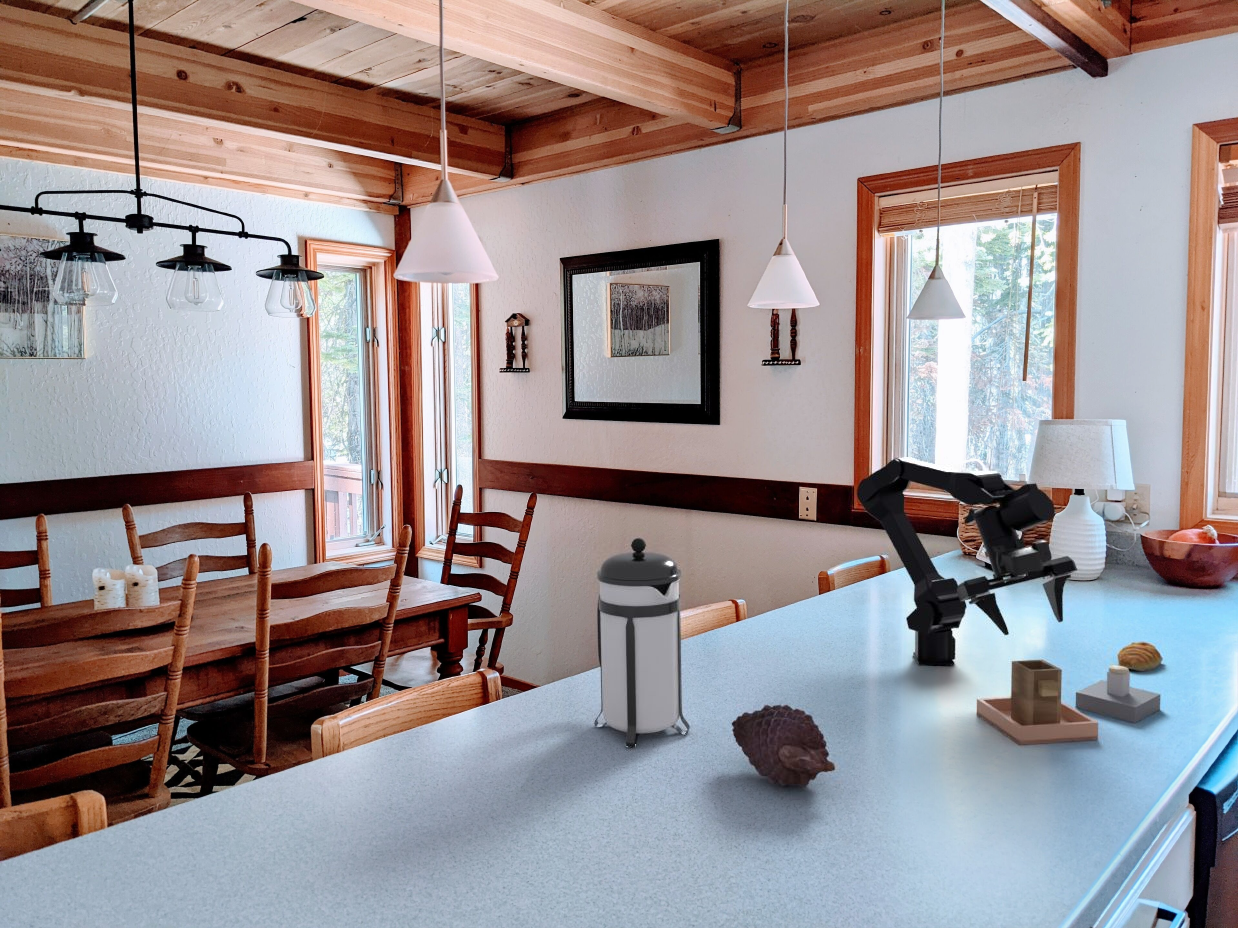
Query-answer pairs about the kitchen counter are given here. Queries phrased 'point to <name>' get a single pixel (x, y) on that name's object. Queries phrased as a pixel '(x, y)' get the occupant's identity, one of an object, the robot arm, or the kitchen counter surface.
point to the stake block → (1118, 697)
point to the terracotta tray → (1068, 730)
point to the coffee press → (640, 642)
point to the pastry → (1139, 656)
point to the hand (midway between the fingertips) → (1033, 628)
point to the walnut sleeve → (1035, 692)
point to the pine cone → (783, 744)
